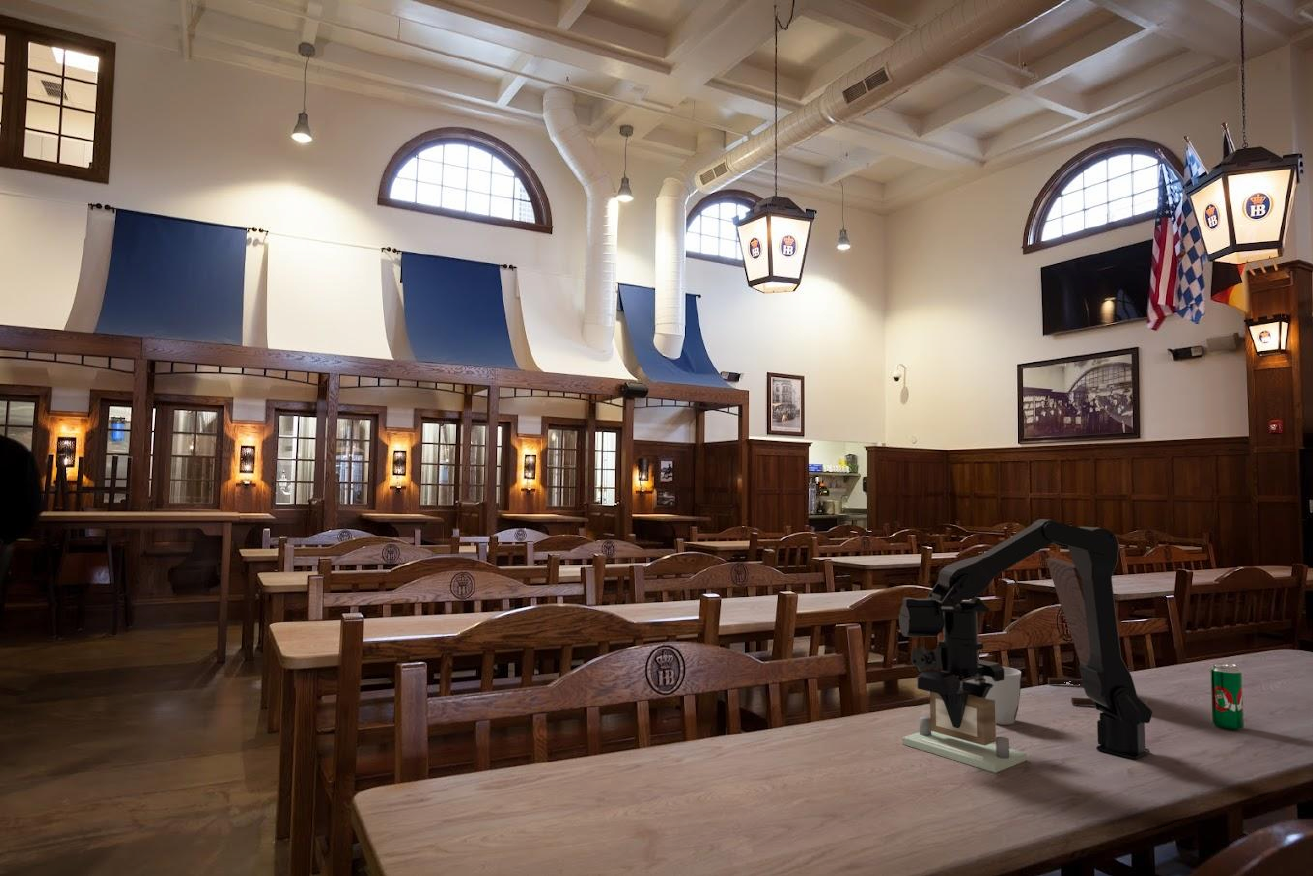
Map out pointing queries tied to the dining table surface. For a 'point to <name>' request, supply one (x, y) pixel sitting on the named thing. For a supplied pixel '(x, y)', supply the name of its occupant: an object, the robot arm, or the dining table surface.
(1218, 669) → the soda can
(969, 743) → the ledge board
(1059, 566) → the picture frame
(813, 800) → the dining table surface
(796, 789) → the dining table surface
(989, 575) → the robot arm
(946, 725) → the brown wooden block
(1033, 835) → the dining table surface
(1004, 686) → the cup
